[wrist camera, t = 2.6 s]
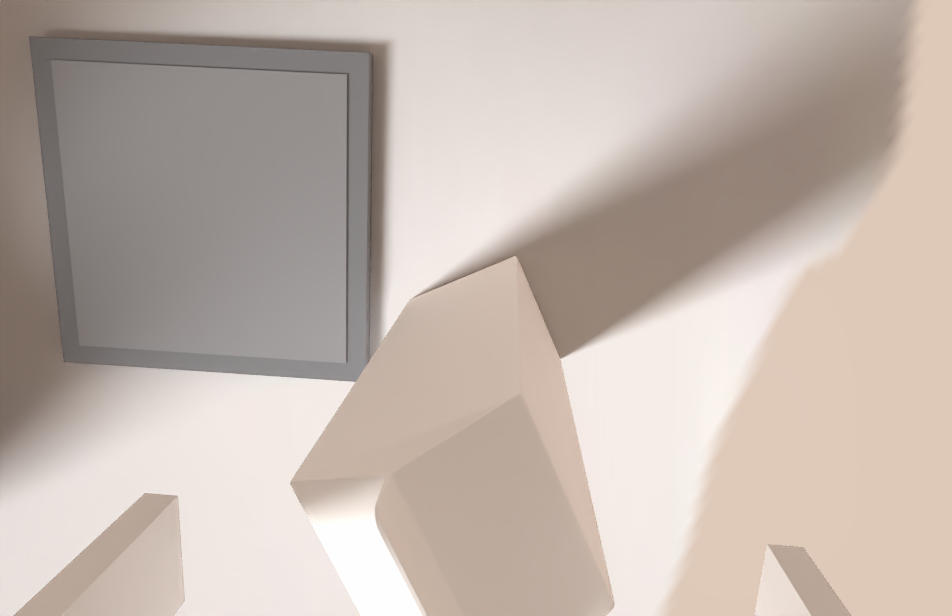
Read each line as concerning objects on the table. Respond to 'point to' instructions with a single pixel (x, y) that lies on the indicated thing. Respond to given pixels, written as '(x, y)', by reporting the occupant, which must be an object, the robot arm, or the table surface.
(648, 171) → the table surface
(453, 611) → the milk
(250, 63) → the mat
